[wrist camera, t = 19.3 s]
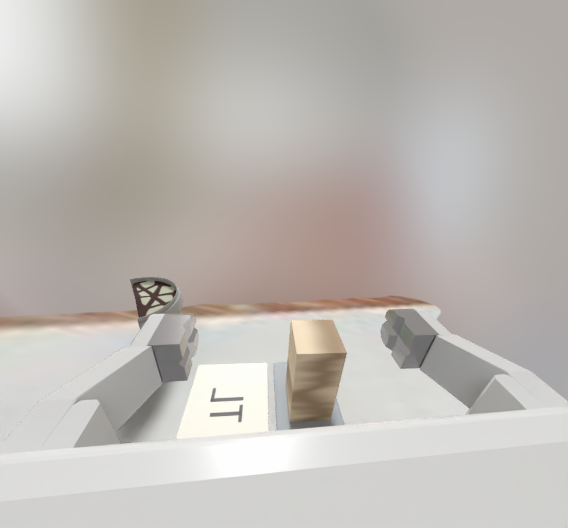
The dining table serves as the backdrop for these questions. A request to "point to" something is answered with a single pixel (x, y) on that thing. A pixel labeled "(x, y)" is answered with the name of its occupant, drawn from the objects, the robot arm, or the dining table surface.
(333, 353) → the birch block
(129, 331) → the dining table surface
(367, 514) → the robot arm
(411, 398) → the dining table surface
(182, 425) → the board
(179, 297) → the food container
